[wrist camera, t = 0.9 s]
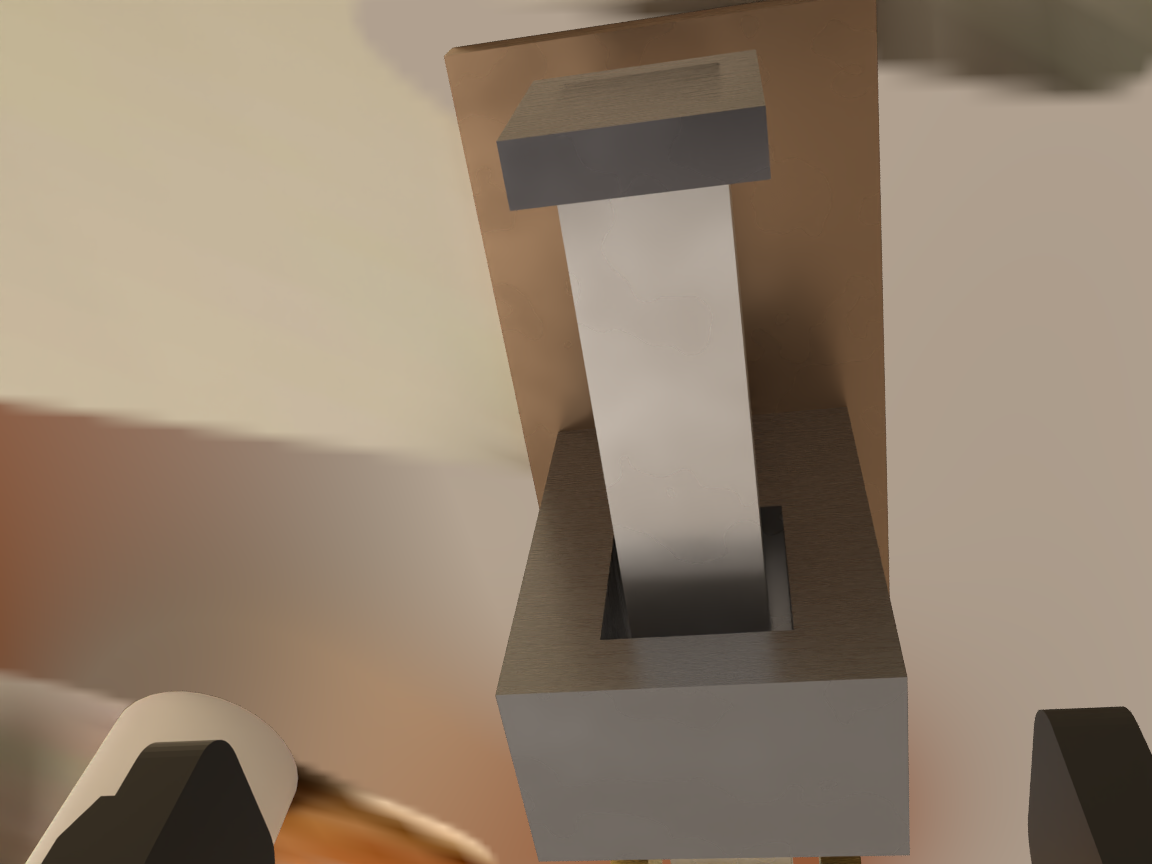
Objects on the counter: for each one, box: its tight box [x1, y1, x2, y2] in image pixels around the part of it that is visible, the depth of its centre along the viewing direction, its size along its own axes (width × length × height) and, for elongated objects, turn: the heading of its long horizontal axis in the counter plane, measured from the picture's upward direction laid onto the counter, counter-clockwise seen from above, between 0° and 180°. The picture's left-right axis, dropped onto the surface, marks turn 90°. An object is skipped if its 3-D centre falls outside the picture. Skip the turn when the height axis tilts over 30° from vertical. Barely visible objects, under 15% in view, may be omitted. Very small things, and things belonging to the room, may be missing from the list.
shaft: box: [496, 49, 793, 864], centre depth 25 cm, size 4×24×4 cm, turn 9°
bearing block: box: [444, 0, 910, 861], centre depth 27 cm, size 10×26×12 cm, turn 9°
